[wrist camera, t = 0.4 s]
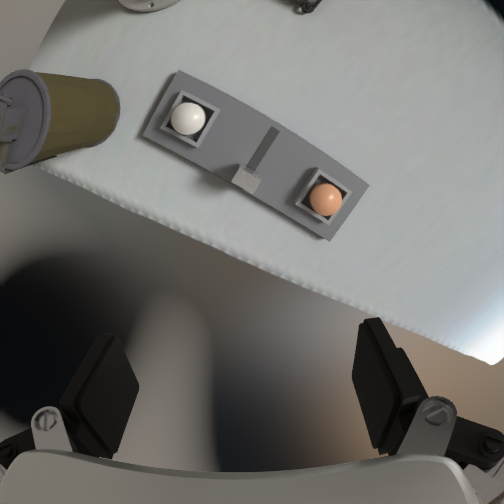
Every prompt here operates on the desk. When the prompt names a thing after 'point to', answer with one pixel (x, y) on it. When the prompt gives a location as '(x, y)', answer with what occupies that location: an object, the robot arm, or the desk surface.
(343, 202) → the panel
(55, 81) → the canister
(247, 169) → the lever
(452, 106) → the desk surface
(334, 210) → the button right
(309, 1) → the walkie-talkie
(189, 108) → the button left
